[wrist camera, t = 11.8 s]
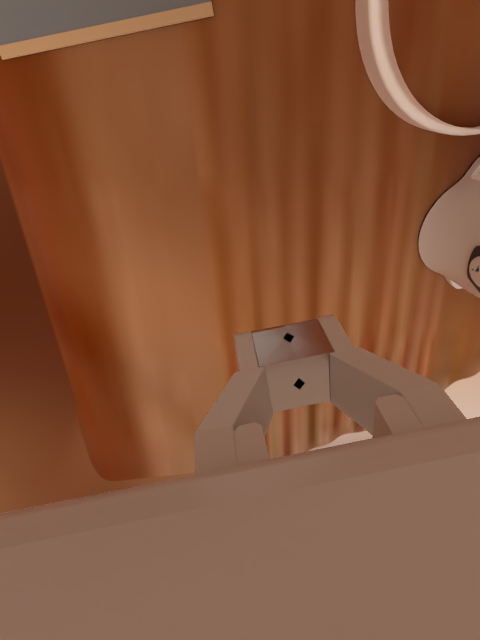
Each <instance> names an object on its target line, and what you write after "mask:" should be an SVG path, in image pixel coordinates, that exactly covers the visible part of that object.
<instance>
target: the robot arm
mask: <svg viewBox="0 0 480 640" xmlns="http://www.w3.org/2000/svg"><path fill="white" fill-rule="evenodd" d="M419 253H420V256H421V259H422V261H423V262H424V264H425V265H426V266H427V267H428V268H429V269H431V270H432V271H434V272H436V273H439V274H441V275H443V276H444V277H445V278H446V280H447V281H448V283H449V284H450V285H451V286H453V287H454V288H456V289H461V288H464V289H465V290H467V291H469V292H470V293H472V294H474V295H475V296H477V297H479V298H480V157H479V158H478V159H477V160H476V161H475V162H474V163H473V165H472V166H471V167H470V169H469V170H468V171H467V173H466V174H465V176H464V177H463V178H462V179H461V180H460V181H459V182H457V183H456V184H455V185H454V186H452V187H451V188H450V189H449V190H448V191H446V192H445V193H444V194H443V195H442V196H441V197H440V198H439V199H438V201H437V202H436V203H435V204H434V205H433V207H432V208H431V210H430V211H429V213H428V215H427V216H426V218H425V220H424V222H423V225H422V228H421V231H420V235H419ZM234 341H235V348H236V354H237V360H238V366H239V372H235V373H234V374H233V376H232V377H231V379H230V380H229V382H228V383H227V385H226V386H225V388H224V389H223V391H222V393H221V394H220V396H219V397H218V399H217V400H216V402H215V403H214V405H213V406H212V408H211V409H210V411H209V413H208V414H207V416H206V417H205V419H204V420H203V422H202V423H201V425H200V426H199V428H198V429H197V431H196V433H195V474H194V475H190V476H185V477H180V478H175V479H170V480H165V481H160V482H156V483H150V484H145V485H140V486H136V487H130V488H125V489H121V490H116V491H111V492H106V493H101V494H96V495H91V496H86V497H81V498H76V499H71V500H66V501H61V502H56V503H51V504H46V505H41V506H36V507H32V508H27V509H22V510H17V511H12V512H8V513H2V514H0V640H480V417H476V418H471V419H466V418H465V416H464V415H463V414H462V413H461V411H460V410H459V409H458V408H457V406H456V405H455V404H454V403H453V401H452V400H451V399H450V398H449V396H448V395H447V394H446V393H445V391H444V390H443V389H442V388H441V386H440V385H439V384H437V383H435V382H433V381H431V380H429V379H427V378H425V377H422V376H420V375H418V374H416V373H414V372H412V371H410V370H407V369H405V368H403V367H401V366H399V365H397V364H395V363H393V362H390V361H388V360H386V359H384V358H382V357H380V356H378V355H375V354H373V353H371V352H369V351H367V350H365V349H363V348H361V347H357V348H354V346H353V345H352V343H351V341H350V340H349V338H348V336H347V335H346V333H345V331H344V330H343V328H342V326H341V325H340V323H339V322H338V320H337V318H336V317H335V315H333V314H332V315H327V316H323V317H319V318H316V319H312V320H308V321H303V322H298V323H293V324H289V325H282V326H277V327H271V328H266V329H261V330H255V331H251V332H245V333H240V334H235V335H234ZM328 401H331V403H332V404H334V405H335V406H336V407H337V408H339V409H340V410H341V411H343V412H344V413H345V414H346V415H348V416H349V417H350V418H351V419H353V420H354V421H355V422H356V423H358V424H359V425H360V426H362V427H363V428H364V429H365V430H367V431H368V432H369V433H370V434H372V435H373V437H372V439H367V440H363V441H357V442H352V443H348V444H343V445H338V446H333V447H328V448H323V449H318V450H314V451H308V452H303V453H298V454H293V455H288V456H283V457H278V458H273V459H269V457H268V452H267V448H266V443H265V438H264V437H265V435H266V432H267V429H268V427H269V424H270V422H271V419H272V416H273V413H274V412H278V411H282V410H287V409H291V408H295V407H300V406H305V405H310V404H316V403H322V402H328Z"/></svg>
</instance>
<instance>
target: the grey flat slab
mask: <svg viewBox="0 0 480 640" xmlns="http://www.w3.org/2000/svg"><path fill="white" fill-rule="evenodd" d="M213 16H214V13H213V7H212V1H211V0H0V56H1V58H2V60H7V59H12V58H17V57H22V56H26V55H31V54H36V53H41V52H46V51H50V50H55V49H60V48H65V47H69V46H74V45H79V44H84V43H89V42H93V41H98V40H103V39H108V38H113V37H117V36H122V35H127V34H132V33H137V32H141V31H146V30H151V29H156V28H161V27H165V26H170V25H175V24H180V23H185V22H189V21H194V20H199V19H204V18H209V17H213Z"/></svg>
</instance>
